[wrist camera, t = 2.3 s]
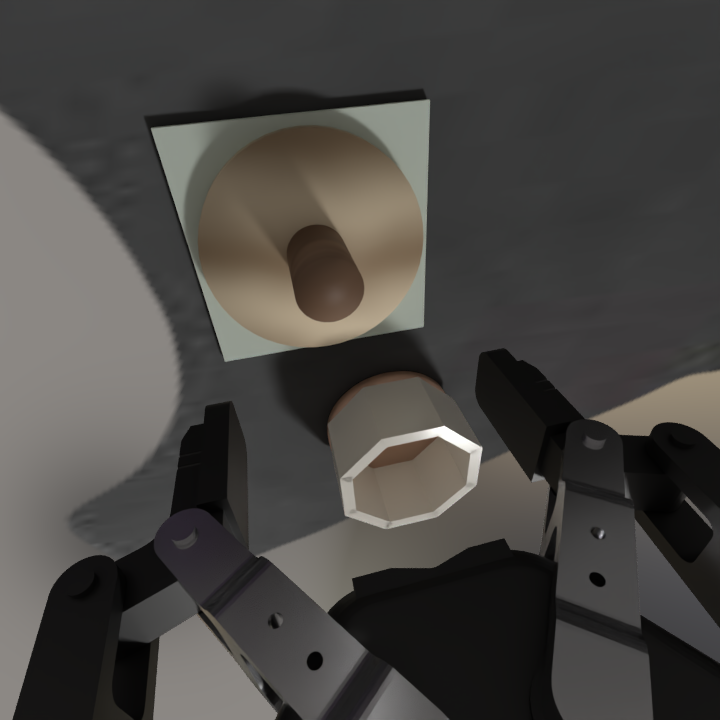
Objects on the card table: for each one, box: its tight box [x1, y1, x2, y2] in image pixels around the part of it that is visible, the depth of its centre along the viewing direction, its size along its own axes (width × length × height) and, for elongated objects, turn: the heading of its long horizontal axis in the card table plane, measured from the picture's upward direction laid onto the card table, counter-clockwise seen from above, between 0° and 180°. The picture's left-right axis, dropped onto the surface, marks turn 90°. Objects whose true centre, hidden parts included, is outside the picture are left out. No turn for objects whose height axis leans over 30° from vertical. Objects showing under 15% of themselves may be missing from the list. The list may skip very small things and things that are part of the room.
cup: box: [327, 371, 482, 529], centre depth 31 cm, size 10×10×6 cm
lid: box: [198, 125, 424, 347], centre depth 22 cm, size 12×12×6 cm
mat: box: [151, 99, 430, 362], centre depth 24 cm, size 13×13×1 cm
